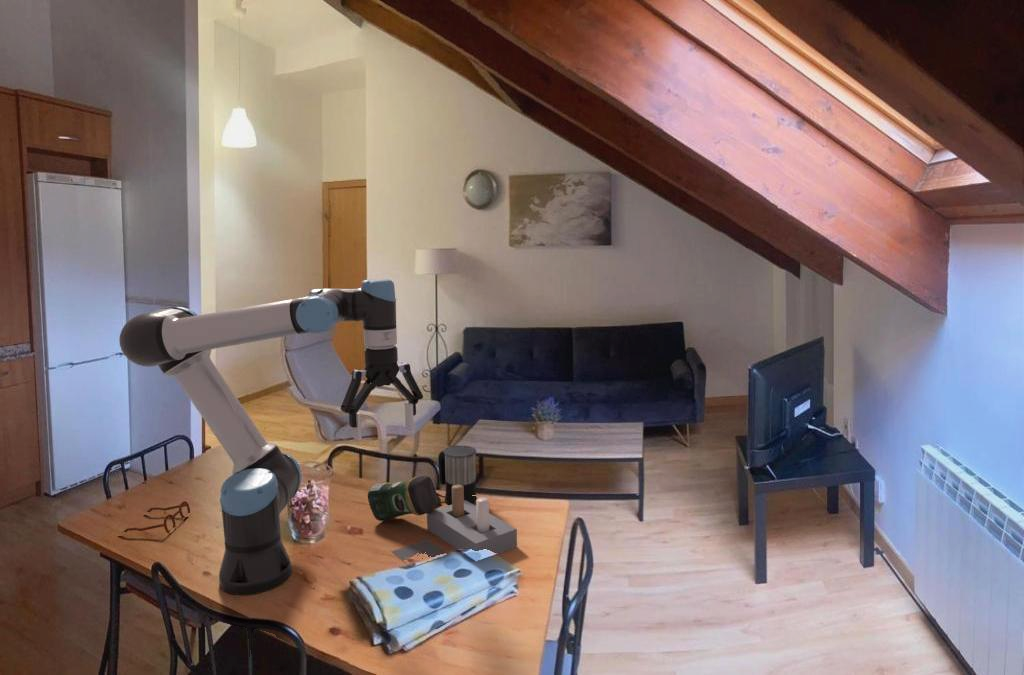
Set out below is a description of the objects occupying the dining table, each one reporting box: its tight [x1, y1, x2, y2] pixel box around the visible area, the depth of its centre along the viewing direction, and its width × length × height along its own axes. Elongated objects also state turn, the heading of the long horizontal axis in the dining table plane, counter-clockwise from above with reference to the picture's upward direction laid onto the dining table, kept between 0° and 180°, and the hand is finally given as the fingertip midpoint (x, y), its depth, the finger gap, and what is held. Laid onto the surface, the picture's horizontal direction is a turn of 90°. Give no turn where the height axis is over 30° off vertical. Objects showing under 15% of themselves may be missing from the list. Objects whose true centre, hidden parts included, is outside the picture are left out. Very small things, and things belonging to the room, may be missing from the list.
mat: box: [391, 539, 447, 562], centre depth 162 cm, size 10×10×1 cm
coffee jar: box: [367, 475, 439, 522], centre depth 177 cm, size 10×8×19 cm
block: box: [426, 485, 518, 555], centre depth 169 cm, size 12×22×12 cm, turn 38°
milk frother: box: [436, 445, 478, 508], centre depth 191 cm, size 14×16×15 cm
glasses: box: [122, 500, 191, 534], centre depth 179 cm, size 13×13×5 cm
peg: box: [475, 497, 490, 534], centre depth 165 cm, size 3×3×12 cm
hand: (384, 434), depth 161 cm, fingers open, 13 cm apart
